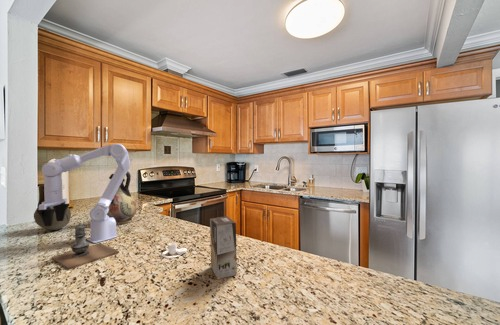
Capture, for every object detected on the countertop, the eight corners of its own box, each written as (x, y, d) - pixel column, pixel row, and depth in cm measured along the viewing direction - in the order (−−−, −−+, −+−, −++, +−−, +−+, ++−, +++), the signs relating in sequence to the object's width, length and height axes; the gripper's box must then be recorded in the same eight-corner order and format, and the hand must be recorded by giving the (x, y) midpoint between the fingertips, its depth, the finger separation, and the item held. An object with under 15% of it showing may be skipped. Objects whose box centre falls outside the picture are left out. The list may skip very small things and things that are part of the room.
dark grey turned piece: (79, 258, 82) (78, 224, 82) (66, 257, 83) (65, 224, 83) (94, 251, 88) (93, 220, 87) (81, 250, 89) (80, 219, 89)
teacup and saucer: (189, 252, 88) (189, 241, 88) (175, 260, 81) (174, 249, 81) (172, 249, 92) (172, 238, 92) (156, 256, 85) (156, 245, 85)
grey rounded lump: (65, 224, 128) (65, 198, 127) (75, 229, 119) (74, 200, 119) (31, 231, 116) (30, 202, 116) (39, 236, 108) (38, 205, 108)
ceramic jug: (99, 225, 125) (97, 170, 124) (119, 218, 140) (118, 169, 140) (127, 226, 122) (125, 170, 122) (144, 219, 137) (143, 169, 137)
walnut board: (100, 244, 97) (100, 243, 97) (119, 252, 88) (119, 251, 88) (51, 258, 84) (51, 256, 84) (68, 269, 75) (68, 267, 75)
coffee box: (237, 275, 70) (237, 222, 69) (217, 279, 67) (216, 225, 67) (228, 262, 78) (227, 215, 78) (209, 266, 76) (209, 218, 75)
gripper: (54, 189, 102) (54, 219, 103) (29, 194, 88) (30, 229, 88) (71, 188, 104) (72, 218, 104) (50, 193, 89) (51, 227, 90)
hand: (54, 223), depth 96 cm, fingers open, 7 cm apart
